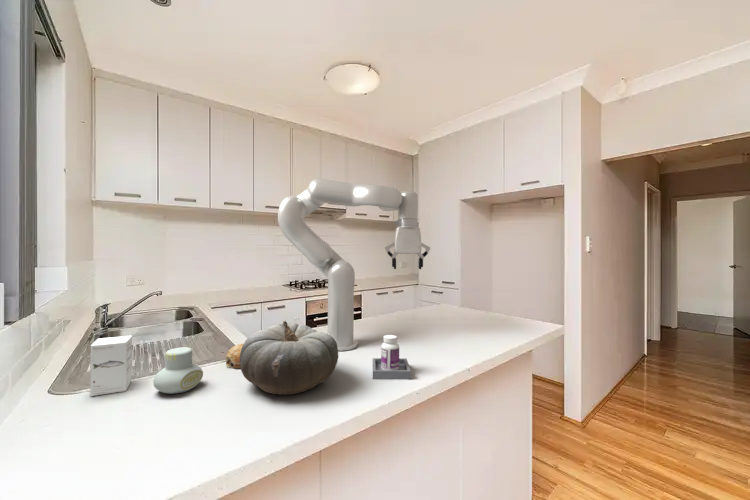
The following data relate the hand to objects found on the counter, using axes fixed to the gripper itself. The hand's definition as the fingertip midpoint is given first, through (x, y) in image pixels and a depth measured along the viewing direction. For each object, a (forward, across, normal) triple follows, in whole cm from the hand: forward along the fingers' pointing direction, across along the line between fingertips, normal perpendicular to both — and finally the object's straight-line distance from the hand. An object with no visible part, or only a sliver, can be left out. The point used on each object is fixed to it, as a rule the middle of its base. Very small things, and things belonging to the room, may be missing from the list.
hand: (407, 268), depth 127 cm
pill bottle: (+28, -8, -30) cm, 41 cm away
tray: (+28, -8, -30) cm, 42 cm away
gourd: (+28, -35, -38) cm, 59 cm away
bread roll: (+28, -54, -23) cm, 65 cm away
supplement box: (+28, -80, -43) cm, 95 cm away
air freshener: (+28, -63, -42) cm, 81 cm away
